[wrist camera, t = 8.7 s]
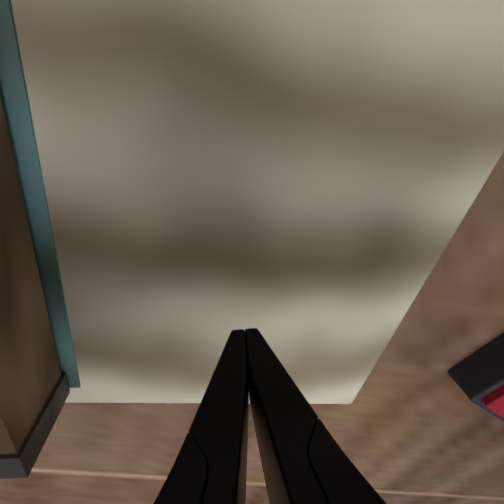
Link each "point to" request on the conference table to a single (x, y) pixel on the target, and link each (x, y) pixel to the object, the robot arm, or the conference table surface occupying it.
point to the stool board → (243, 176)
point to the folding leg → (23, 334)
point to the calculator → (484, 377)
